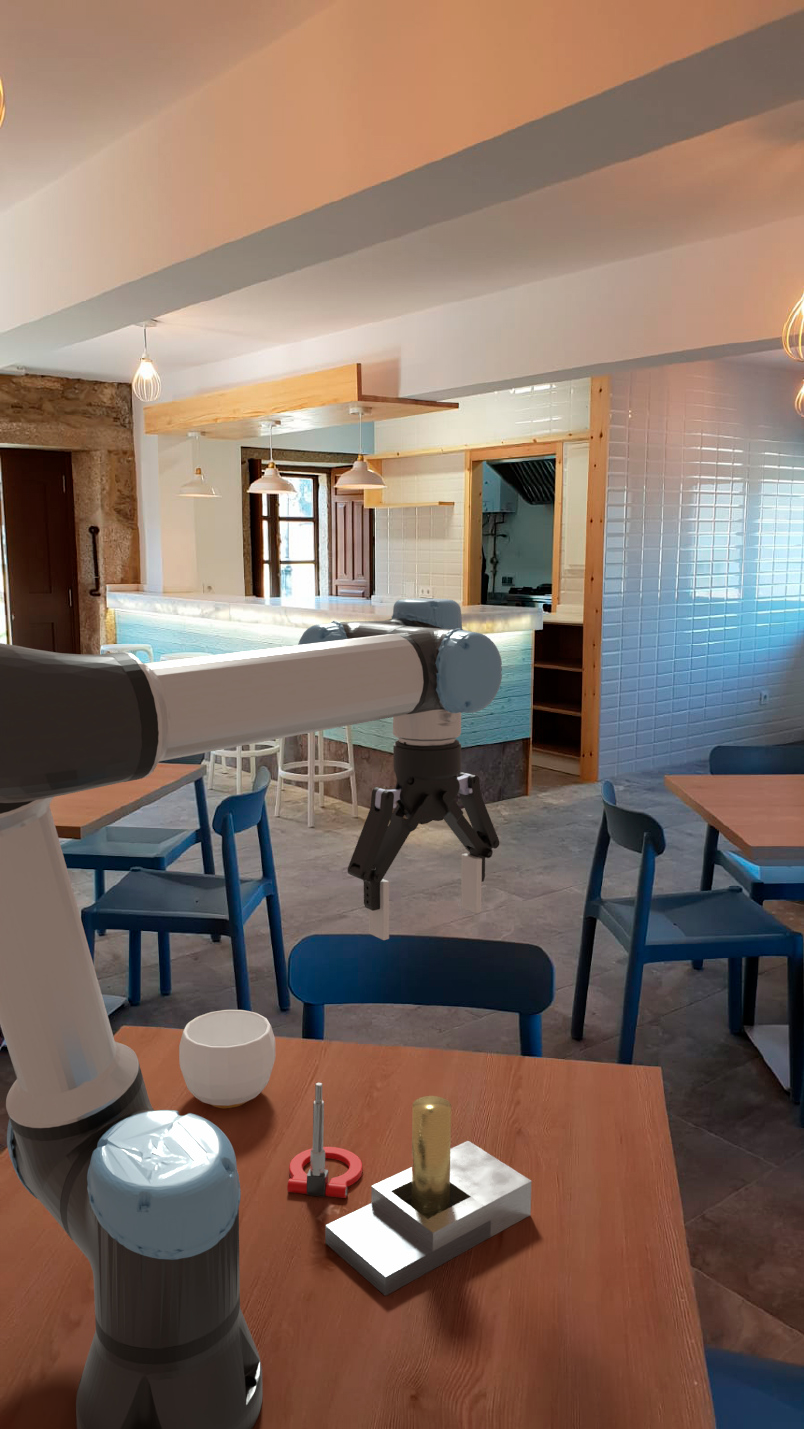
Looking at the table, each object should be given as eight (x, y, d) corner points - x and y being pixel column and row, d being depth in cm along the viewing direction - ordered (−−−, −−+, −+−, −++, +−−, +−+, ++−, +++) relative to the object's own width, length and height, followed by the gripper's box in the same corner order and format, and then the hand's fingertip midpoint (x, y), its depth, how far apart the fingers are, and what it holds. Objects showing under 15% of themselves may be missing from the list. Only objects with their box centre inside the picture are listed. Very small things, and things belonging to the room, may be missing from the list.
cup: (160, 1103, 135) (158, 1032, 134) (227, 1065, 145) (226, 999, 144) (229, 1133, 128) (228, 1059, 127) (295, 1092, 138) (294, 1023, 137)
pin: (428, 1246, 107) (429, 1120, 105) (403, 1227, 110) (404, 1104, 108) (456, 1231, 110) (459, 1107, 108) (432, 1212, 113) (433, 1092, 111)
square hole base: (385, 1296, 100) (385, 1258, 100) (325, 1243, 108) (325, 1207, 107) (530, 1215, 113) (531, 1180, 112) (467, 1172, 120) (468, 1140, 120)
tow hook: (299, 1152, 125) (278, 1194, 116) (300, 1048, 124) (279, 1083, 115) (368, 1159, 124) (352, 1203, 115) (370, 1055, 123) (354, 1090, 113)
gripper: (355, 758, 105) (357, 958, 108) (531, 731, 120) (528, 908, 123) (314, 747, 111) (316, 937, 114) (486, 723, 126) (484, 891, 129)
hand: (426, 922), depth 119 cm, fingers open, 13 cm apart
